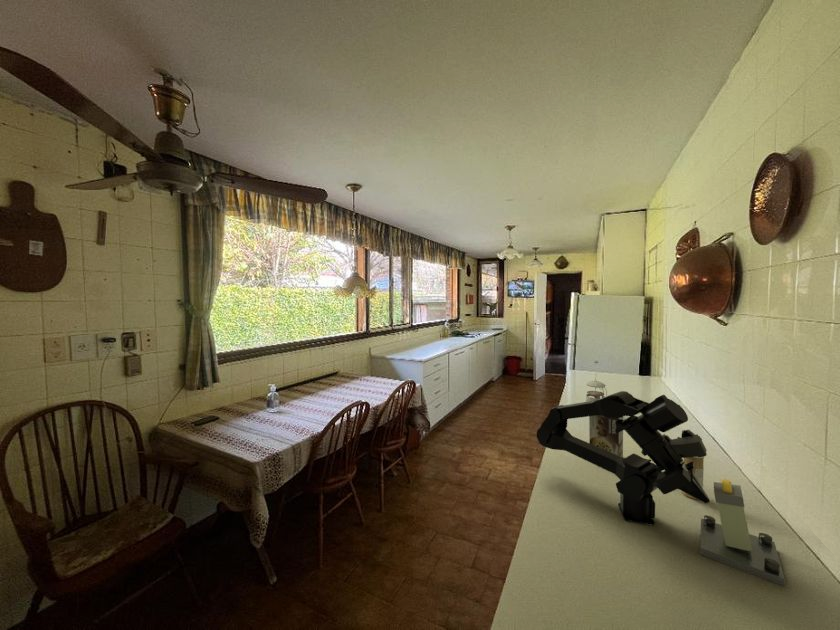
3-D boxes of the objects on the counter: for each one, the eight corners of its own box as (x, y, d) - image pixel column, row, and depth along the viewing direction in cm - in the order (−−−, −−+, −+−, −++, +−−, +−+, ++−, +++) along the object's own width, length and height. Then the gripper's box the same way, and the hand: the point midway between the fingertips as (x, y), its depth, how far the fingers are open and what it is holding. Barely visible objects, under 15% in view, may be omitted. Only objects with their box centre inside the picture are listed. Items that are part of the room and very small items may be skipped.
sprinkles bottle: (677, 491, 92) (678, 444, 91) (692, 489, 92) (693, 443, 92) (692, 501, 88) (693, 451, 87) (707, 499, 88) (709, 450, 87)
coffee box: (623, 459, 110) (624, 412, 109) (619, 466, 105) (619, 417, 105) (593, 451, 116) (594, 406, 116) (588, 457, 112) (588, 411, 111)
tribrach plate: (700, 554, 70) (700, 540, 69) (700, 524, 79) (701, 512, 78) (784, 586, 62) (785, 571, 62) (774, 548, 71) (774, 535, 71)
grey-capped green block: (724, 545, 69) (712, 486, 70) (723, 531, 74) (712, 475, 74) (753, 552, 67) (741, 490, 67) (751, 537, 71) (739, 479, 71)
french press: (578, 411, 156) (579, 359, 154) (595, 408, 161) (596, 357, 159) (597, 418, 147) (598, 363, 146) (614, 414, 152) (615, 360, 150)
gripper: (677, 435, 68) (749, 509, 62) (682, 411, 82) (741, 468, 76) (632, 460, 74) (693, 529, 68) (643, 433, 88) (695, 488, 82)
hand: (707, 501), depth 73 cm, fingers closed
